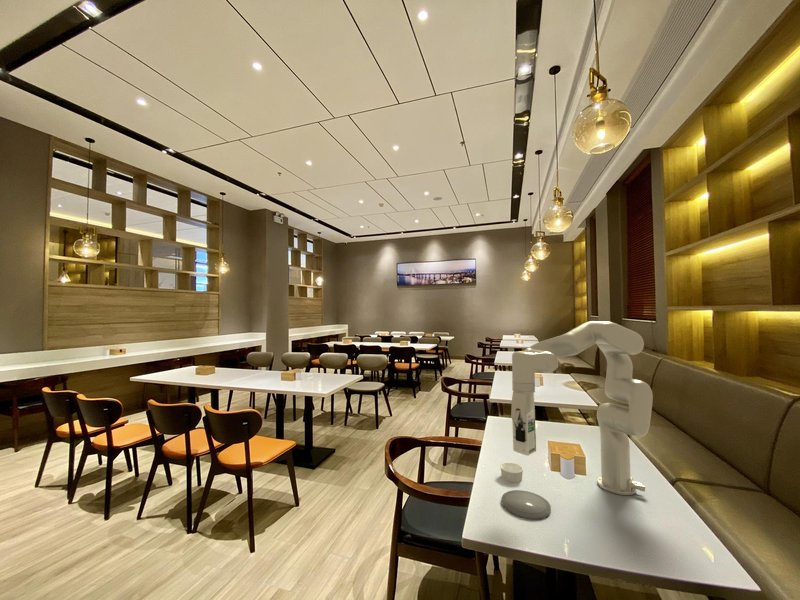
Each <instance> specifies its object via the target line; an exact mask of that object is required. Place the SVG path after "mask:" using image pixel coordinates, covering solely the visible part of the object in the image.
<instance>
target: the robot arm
mask: <svg viewBox="0 0 800 600" xmlns="http://www.w3.org/2000/svg"><path fill="white" fill-rule="evenodd" d="M595 345H597V347H598V348H599V350H600V351H601V352H602V354H603V355H604V357H605V360H606V373H605V381H604V394H605V395H606V397H607V398H609V399H611V400H613V401H617V402H620V403H623V404H626V405H627V404H628V407H627V406H624V405H622V404H621V405H620V404H617V403H613V402H604V403H602V404H600V405H598V407H597V410H596V419H597V423H598V427H599V434H600V470H601V471H600V472H601V476H599V477H598V478H597V479H596V483H597V485H598V486H599V487H600V488H602V490H605V491H607V492H609V493H613V494H616V495H620V496H632V495H633V496H634V495H635V494H636V493H637V490H638V491H640V492H644V493H645V492H646V486H645V485H643V483H642V482H639V481H635V480H634V479H633V478H634V477H633V476H631V475H632V474H631V452H630V451H631V444H630V439H629V437H628V435H629V436H632V437H635V438H642V437H645V436H646V435H647V434H648V432H649V430H650V425H651V418H652V410H653V403H654V402H653V401H654V400H653V398H654V395H653V390H652V388H651V387H650V384H648V383H647V382H645V381H643V380H641V379H640V380H639V379H635V378H633V369H634V365H633V362H632V359H631V358H630V356H629V355H632V356H634V355H637V354H640V353H641V352H642V351H643V350H644V346H645V341H644V338H643V337H642V335H640V334H639V333H638V332H637V331H634V330H632V329H629V328H627V327H625V326H623V325H620V324H618V323H615V322H612V321H604V320H603V321H599V320H598V321H597V320H596V321H595V320H591V321H586V322H584V323H582V324H580V325H578V326H576V327H574V328H573V329H571V330H569V331H568V332H566V333H563V334H561V335H558V336H554V337H551V338H547V339H544V340H542V341H538V342H536V343H534V344H532V345H531V346H528V347H527V348H525V349H524V350H521V351H519V350H518V351H514V352H513V353H512V355H511V370H512V373H511V374H512V375H511V376H512V377H511V378H512V379H511V380H512V386H511V387H512V394H511V395H512V396H511V397H512V398H511V407H510V408H511V412H510V413H511V414H510V415H511V416H510V417H511V420H513V422H514V425H515V429H516V441H520V442H525V430H524V426H525V422H526V419H527V414H528V413H529V412H530V411H532V410H535V411H536V409H535V408H536V407H535V395H534V394H535V393H536V377H535V376H536V375H535V374H536V373H544V374H545V373H548V374H549V373H552V372H555V371H556V370H557V369H558V366H559V359H558V358H560V357H563V358H564V357H572V356H577V355H578V354H580V353H582V352H583V351H585V350H587V349H589V348H591V347H592V346H595ZM519 418H520V419H522V421H521V420H519ZM519 422H521V423H522V426H521V424H520V423H519Z"/></svg>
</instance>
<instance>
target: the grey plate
mask: <svg viewBox="0 0 800 600" xmlns="http://www.w3.org/2000/svg"><path fill="white" fill-rule="evenodd" d="M501 505H502V507H503V508H504V510H506V511H507V512H508V513H510V514H512V515H513V516H515V517H519V518H521V519H526V520H534V521H535V520H536V521H539V520H544V519H546V518H548V517H549V516H550V515H551V514H552V508H551V507H552V506H551V504H550V502H549V501H548V500H547V499H545V498H544V496H541V495H539V494H537V493H535V492H531V491H527V490H520V489H519V490H518V489H516V490H510V491H509V490H508V491H507V492H505V493H503V494H502V495H501Z"/></svg>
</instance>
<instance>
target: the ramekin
mask: <svg viewBox="0 0 800 600" xmlns="http://www.w3.org/2000/svg"><path fill="white" fill-rule="evenodd" d="M499 467H500V474H501V477H502V479H503V480H504V481H506V482H510V483H520V482H521V481H523V472H524V468H523V466H521V465H520V464H518V463H515V462H503V463H501V464H500V466H499Z"/></svg>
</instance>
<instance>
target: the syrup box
mask: <svg viewBox="0 0 800 600" xmlns="http://www.w3.org/2000/svg"><path fill="white" fill-rule="evenodd" d="M511 420H512V419H511ZM519 420H521V421H522V419H520V418H519ZM511 423H512V449H513V452H516V453H518V454H521V455H525V456H527V457H528V456H530V455H532V454H534V453H536V452H537V437H536V435H537V434H536V409H535V410H532V411H530V412H529V413H528V414H527V419H526V422H525V426H524V430H525V442H520V441H516V429H515V425H514V422H513V420H512V422H511ZM519 423H520V424H521V426H522V423H521V422H519Z"/></svg>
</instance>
